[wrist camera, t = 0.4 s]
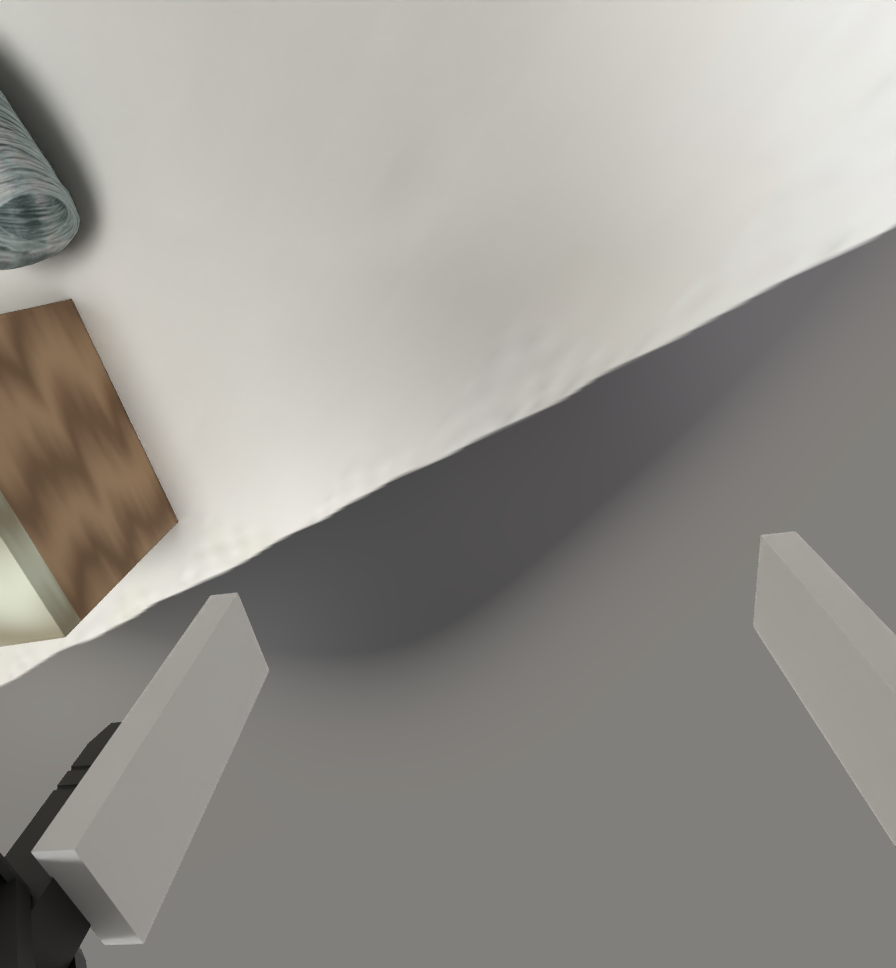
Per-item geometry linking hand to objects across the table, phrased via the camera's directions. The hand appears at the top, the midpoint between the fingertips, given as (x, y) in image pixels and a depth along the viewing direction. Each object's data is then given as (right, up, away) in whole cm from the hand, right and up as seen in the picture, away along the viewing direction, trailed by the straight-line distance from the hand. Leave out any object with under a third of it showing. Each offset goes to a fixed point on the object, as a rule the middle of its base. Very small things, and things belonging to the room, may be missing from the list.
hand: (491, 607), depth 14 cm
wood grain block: (-30, +7, +29) cm, 42 cm away
